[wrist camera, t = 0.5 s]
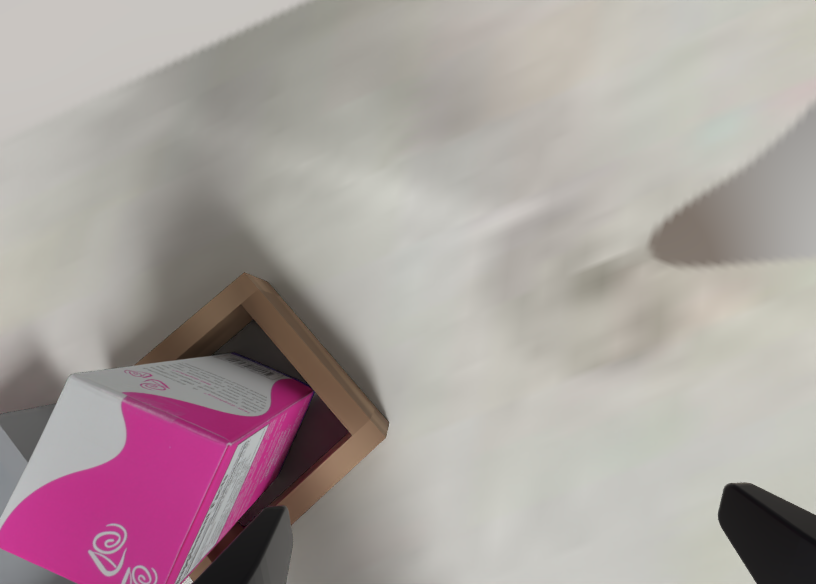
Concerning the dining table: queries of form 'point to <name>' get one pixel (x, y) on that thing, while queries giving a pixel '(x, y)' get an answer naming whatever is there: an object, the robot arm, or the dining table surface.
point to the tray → (3, 467)
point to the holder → (308, 358)
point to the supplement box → (151, 467)
